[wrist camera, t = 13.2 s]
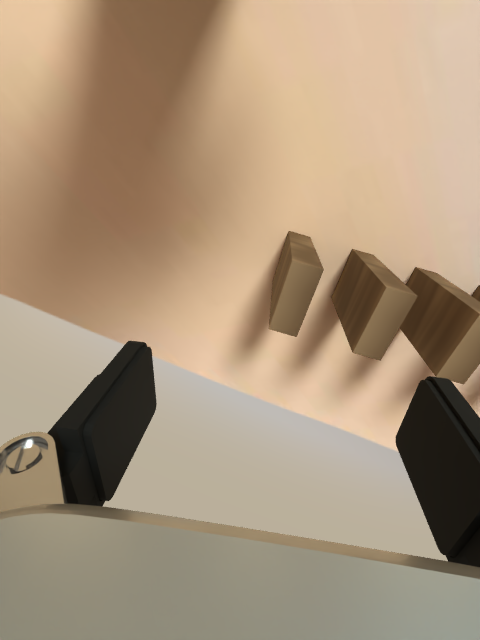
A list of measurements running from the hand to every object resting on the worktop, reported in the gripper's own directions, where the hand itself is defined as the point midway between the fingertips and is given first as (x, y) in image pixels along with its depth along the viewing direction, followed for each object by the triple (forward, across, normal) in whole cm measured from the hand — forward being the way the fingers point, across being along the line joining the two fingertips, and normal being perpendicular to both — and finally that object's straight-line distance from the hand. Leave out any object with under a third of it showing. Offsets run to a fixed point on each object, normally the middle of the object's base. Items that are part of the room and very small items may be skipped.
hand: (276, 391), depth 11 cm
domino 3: (+20, -13, +3) cm, 24 cm away
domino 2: (+20, -7, +2) cm, 21 cm away
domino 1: (+20, -1, +1) cm, 20 cm away
